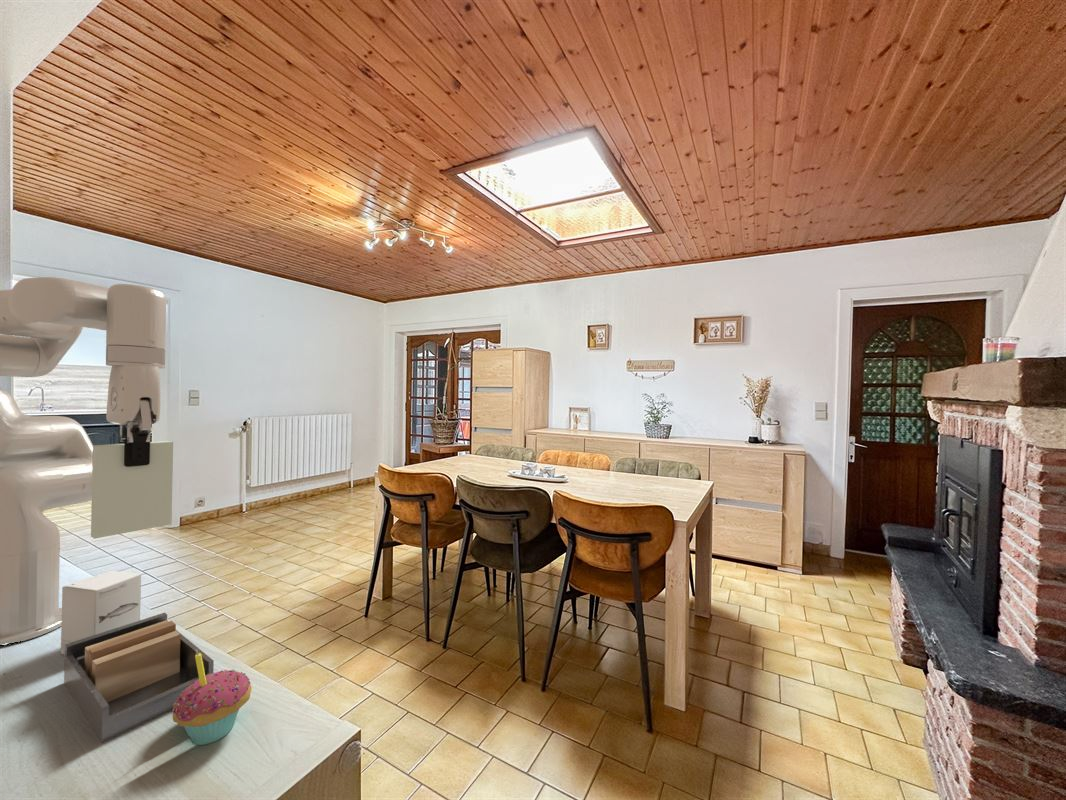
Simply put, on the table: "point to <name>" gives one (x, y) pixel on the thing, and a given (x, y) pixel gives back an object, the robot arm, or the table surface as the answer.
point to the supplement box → (99, 605)
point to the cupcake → (211, 703)
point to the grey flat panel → (130, 490)
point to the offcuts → (133, 659)
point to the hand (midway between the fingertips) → (134, 464)
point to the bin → (134, 705)
